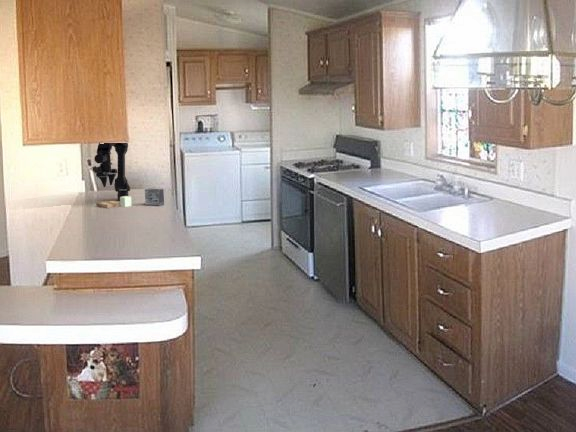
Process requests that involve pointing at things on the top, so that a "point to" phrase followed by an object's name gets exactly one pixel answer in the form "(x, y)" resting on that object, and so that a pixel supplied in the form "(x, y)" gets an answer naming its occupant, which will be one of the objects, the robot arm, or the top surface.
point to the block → (125, 201)
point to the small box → (154, 197)
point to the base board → (108, 204)
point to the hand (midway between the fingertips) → (107, 186)
